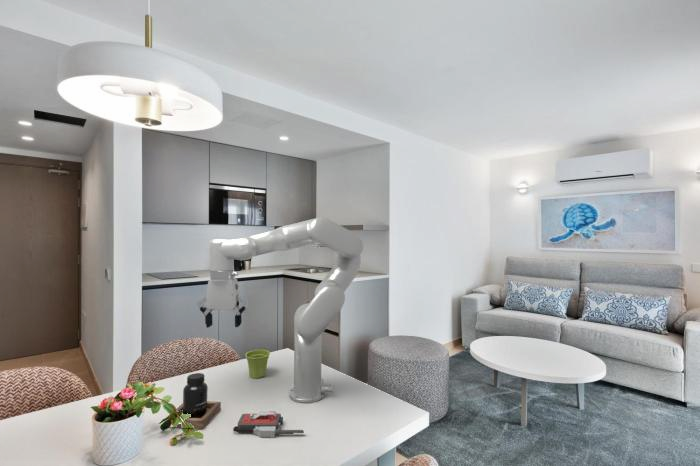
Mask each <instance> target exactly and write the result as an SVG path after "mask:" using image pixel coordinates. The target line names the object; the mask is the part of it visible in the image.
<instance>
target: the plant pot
mask: <svg viewBox="0 0 700 466" xmlns="http://www.w3.org/2000/svg"><path fill="white" fill-rule="evenodd" d="M270 355H271V352H270V351H269V350H267V349H266V350H265V349H254V350H250V351H247V352H246V353H245V355H244V356H245V357H246V360H247V367H248V373H249V377H251V379H260V378H264V377H265V376H267V375H266V372H267V368H268V367H267V365H268V361H269V360H268V359H269V358H270V357H269V356H270Z"/></svg>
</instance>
